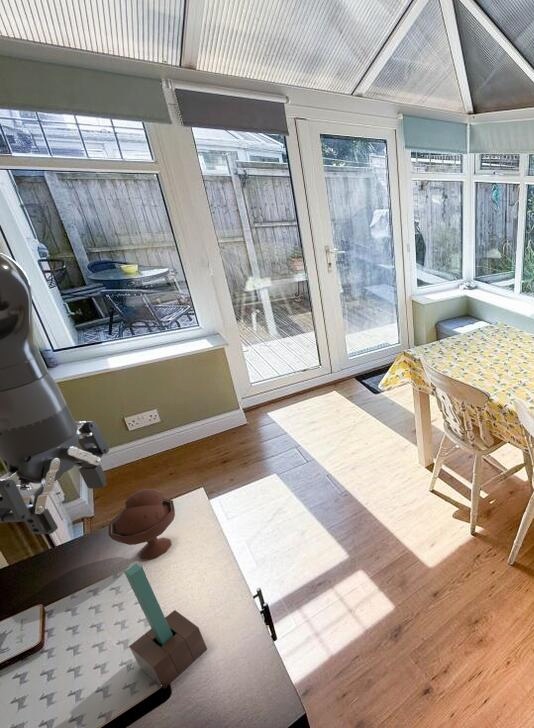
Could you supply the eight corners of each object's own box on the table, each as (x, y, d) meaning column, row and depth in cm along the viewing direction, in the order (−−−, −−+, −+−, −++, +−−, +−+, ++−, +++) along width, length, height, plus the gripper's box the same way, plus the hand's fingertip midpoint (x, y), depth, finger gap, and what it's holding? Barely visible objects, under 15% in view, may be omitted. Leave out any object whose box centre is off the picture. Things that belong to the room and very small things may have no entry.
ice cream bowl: (133, 538, 93) (109, 486, 87) (192, 523, 97) (174, 473, 91) (113, 578, 84) (86, 523, 78) (180, 560, 88) (158, 507, 82)
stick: (172, 665, 70) (129, 575, 61) (166, 660, 70) (123, 571, 62) (182, 656, 71) (142, 567, 62) (177, 651, 72) (136, 563, 63)
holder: (164, 689, 67) (152, 666, 64) (140, 668, 69) (128, 646, 67) (207, 649, 72) (198, 627, 70) (184, 631, 75) (174, 609, 72)
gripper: (41, 385, 58) (85, 475, 65) (-76, 447, 45) (-6, 552, 52) (100, 383, 59) (137, 472, 66) (1, 444, 46) (60, 547, 53)
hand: (74, 508), depth 59 cm, fingers open, 8 cm apart
